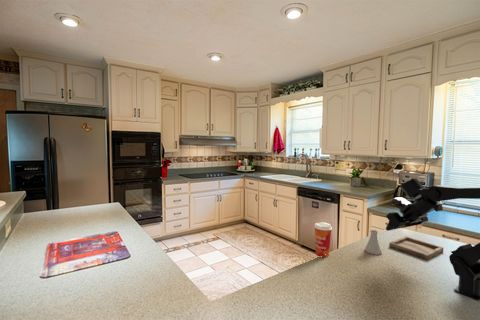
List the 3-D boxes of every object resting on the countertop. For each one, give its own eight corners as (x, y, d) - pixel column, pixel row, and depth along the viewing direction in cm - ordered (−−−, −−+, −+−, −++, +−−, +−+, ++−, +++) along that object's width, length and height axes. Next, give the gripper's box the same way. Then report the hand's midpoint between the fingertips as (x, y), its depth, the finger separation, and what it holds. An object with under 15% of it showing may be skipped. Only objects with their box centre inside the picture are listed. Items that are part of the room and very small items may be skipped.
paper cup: (309, 252, 113) (310, 223, 112) (322, 249, 116) (323, 220, 115) (322, 260, 106) (323, 228, 105) (335, 256, 109) (336, 225, 108)
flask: (384, 256, 110) (385, 234, 109) (367, 254, 111) (368, 233, 111) (378, 249, 117) (379, 228, 116) (362, 247, 118) (363, 227, 118)
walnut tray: (427, 260, 106) (427, 255, 106) (389, 246, 120) (389, 242, 119) (443, 252, 114) (443, 247, 114) (405, 240, 128) (405, 236, 128)
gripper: (420, 190, 106) (395, 210, 116) (390, 193, 98) (367, 214, 109) (441, 212, 98) (412, 231, 109) (410, 217, 91) (383, 237, 102)
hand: (393, 228), depth 107 cm, fingers open, 9 cm apart
